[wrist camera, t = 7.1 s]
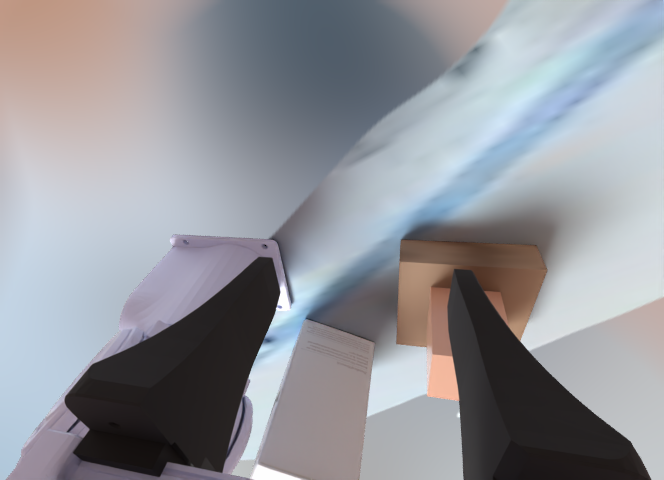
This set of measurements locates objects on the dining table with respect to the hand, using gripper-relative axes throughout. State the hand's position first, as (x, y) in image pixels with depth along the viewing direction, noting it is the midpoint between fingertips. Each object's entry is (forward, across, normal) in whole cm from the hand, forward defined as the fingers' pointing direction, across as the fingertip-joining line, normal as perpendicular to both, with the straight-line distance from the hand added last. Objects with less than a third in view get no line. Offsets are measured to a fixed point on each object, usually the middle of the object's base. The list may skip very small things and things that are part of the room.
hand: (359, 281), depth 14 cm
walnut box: (+11, -6, +10) cm, 16 cm away
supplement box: (+11, +5, +20) cm, 23 cm away
